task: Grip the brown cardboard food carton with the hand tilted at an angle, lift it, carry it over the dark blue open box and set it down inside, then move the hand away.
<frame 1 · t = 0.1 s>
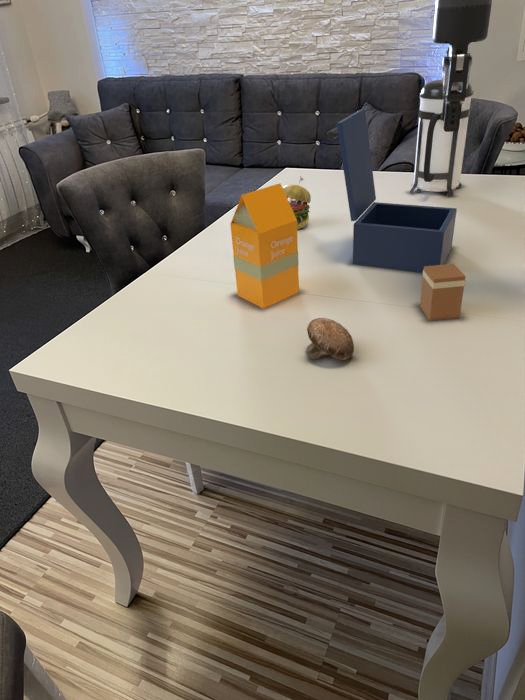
hand: (449, 125, 84), 28 cm above the table, tool pointing down, fingers open, 8 cm apart
navy box lid: (348, 165, 105), point 18 cm above the table, hinge at 100.0°
coffee press: (435, 193, 145), on the table
dark blue open box: (402, 258, 110), on the table
mushroom: (330, 356, 82), on the table
carton: (438, 314, 90), on the table
hamburger: (295, 228, 130), on the table
orange juice: (268, 297, 100), on the table
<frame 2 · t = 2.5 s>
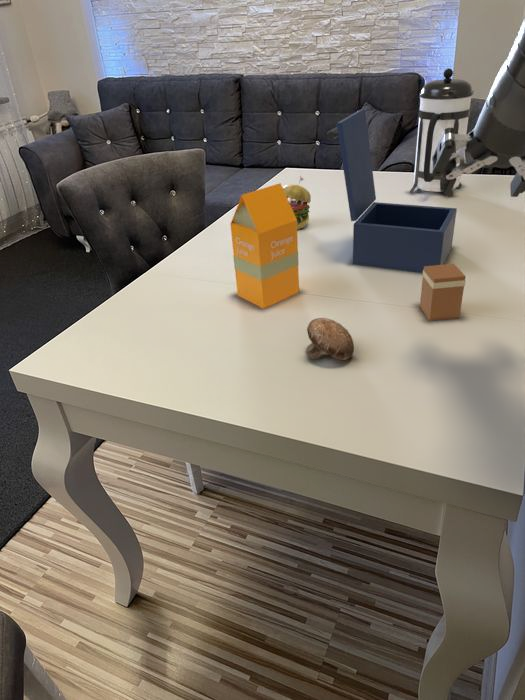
hand: (479, 190, 71), 23 cm above the table, tool tilted 40°, fingers open, 8 cm apart
nothing on the table moved.
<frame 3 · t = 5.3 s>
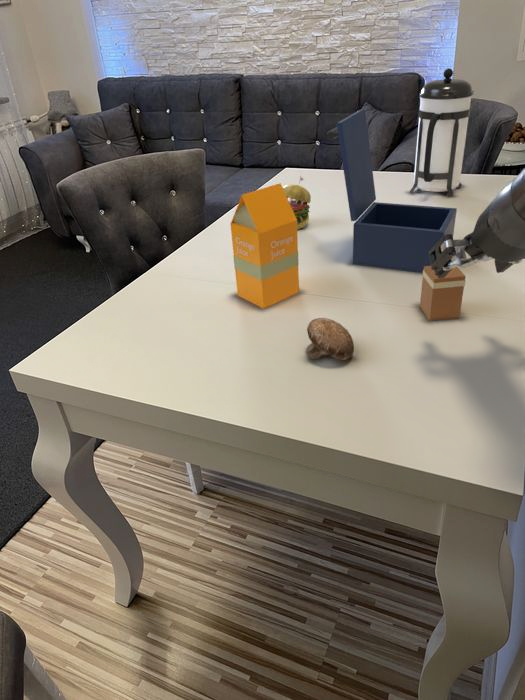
hand: (468, 269, 76), 12 cm above the table, tool tilted 45°, fingers open, 8 cm apart
nothing on the table moved.
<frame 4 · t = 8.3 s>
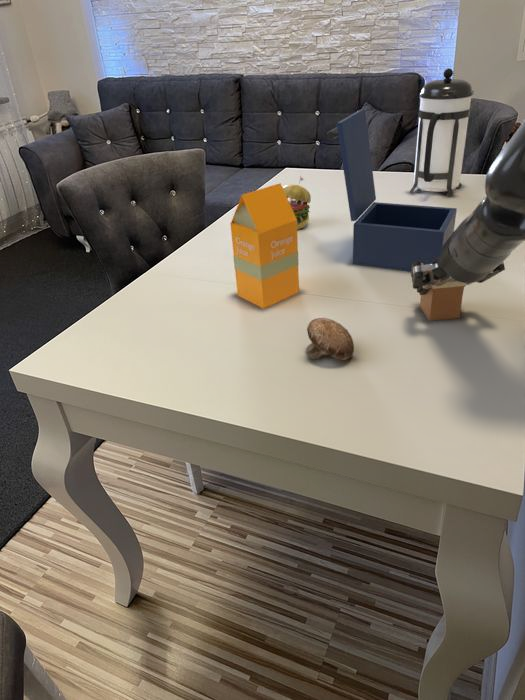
hand: (437, 287, 89), 4 cm above the table, tool tilted 45°, fingers closed on carton, 5 cm apart
carton: (438, 314, 90), on the table, touching gripper
everything else where it was.
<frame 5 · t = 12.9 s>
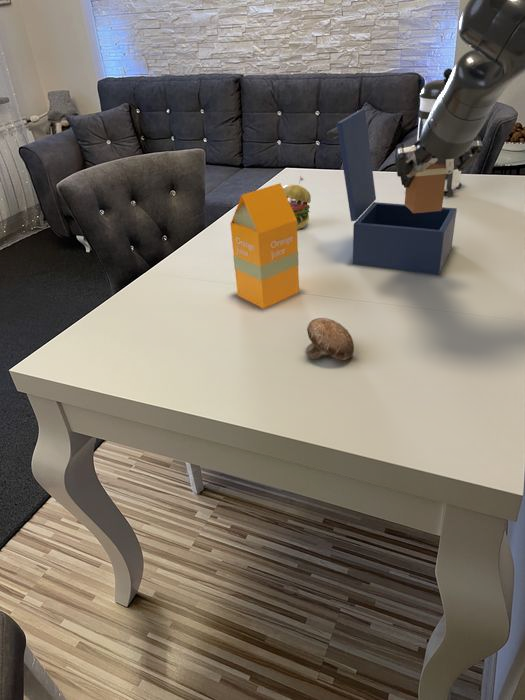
hand: (421, 181, 93), 18 cm above the table, tool tilted 45°, fingers closed on carton, 5 cm apart
carton: (422, 207, 94), point 14 cm above the table, touching gripper
everything else where it was.
when the fingers open (6 cm above the table, at t = 17.5 s): carton stays where it is, resting on dark blue open box.
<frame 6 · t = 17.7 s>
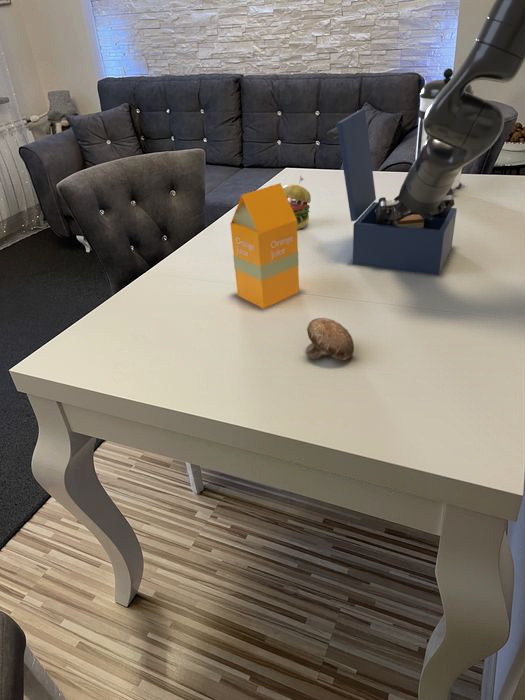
hand: (402, 225, 108), 7 cm above the table, tool tilted 45°, fingers open, 7 cm apart
carton: (404, 254, 109), point 1 cm above the table, touching dark blue open box
everything else where it was.
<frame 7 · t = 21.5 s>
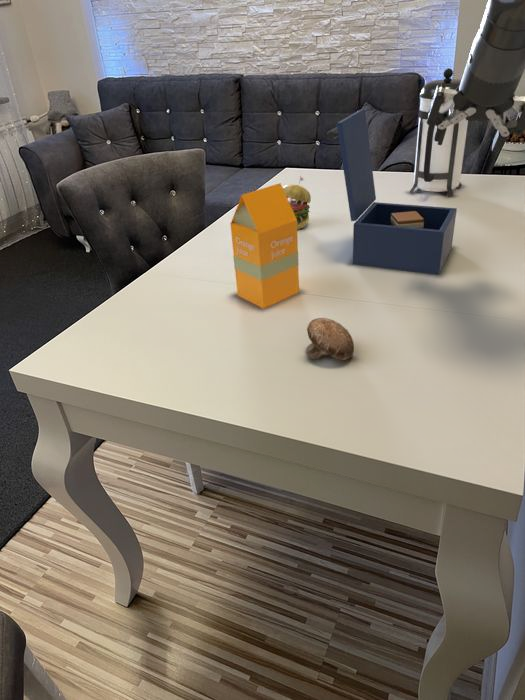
hand: (466, 144, 87), 24 cm above the table, tool tilted 35°, fingers open, 8 cm apart
nothing on the table moved.
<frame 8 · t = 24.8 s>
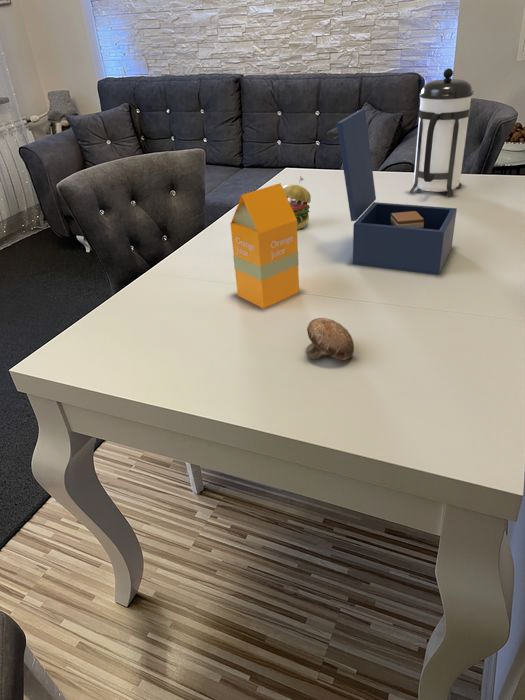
nothing on the table moved.
at the end: carton inside the target area in the dark blue open box (0.3 cm from its centre), point 1.0 cm above the dark blue open box's base; the gripper is holding nothing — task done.
